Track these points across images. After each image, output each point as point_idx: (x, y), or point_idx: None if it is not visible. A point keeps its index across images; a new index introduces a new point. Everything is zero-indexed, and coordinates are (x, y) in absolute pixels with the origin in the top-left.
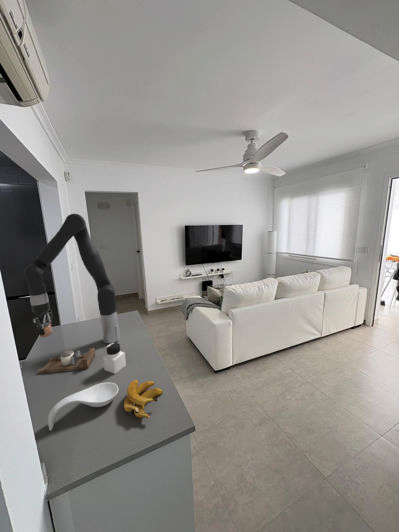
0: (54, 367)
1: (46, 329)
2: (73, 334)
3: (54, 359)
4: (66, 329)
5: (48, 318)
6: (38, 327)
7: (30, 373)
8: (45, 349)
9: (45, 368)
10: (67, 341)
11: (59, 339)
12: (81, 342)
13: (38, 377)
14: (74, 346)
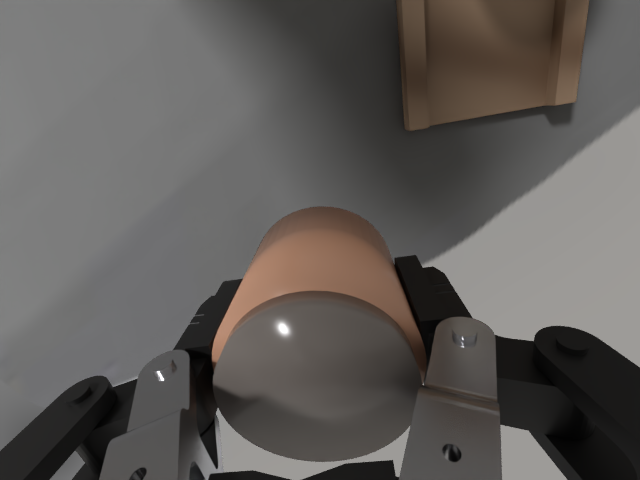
0: (524, 9)
1: (383, 272)
2: (42, 208)
3: (425, 84)
4: (5, 305)
5: (180, 464)
6: (637, 383)
7: (537, 168)
8: None
9: (519, 86)
10: (143, 186)
11: (134, 264)
12: (128, 42)
13: (607, 70)
14: (198, 68)
